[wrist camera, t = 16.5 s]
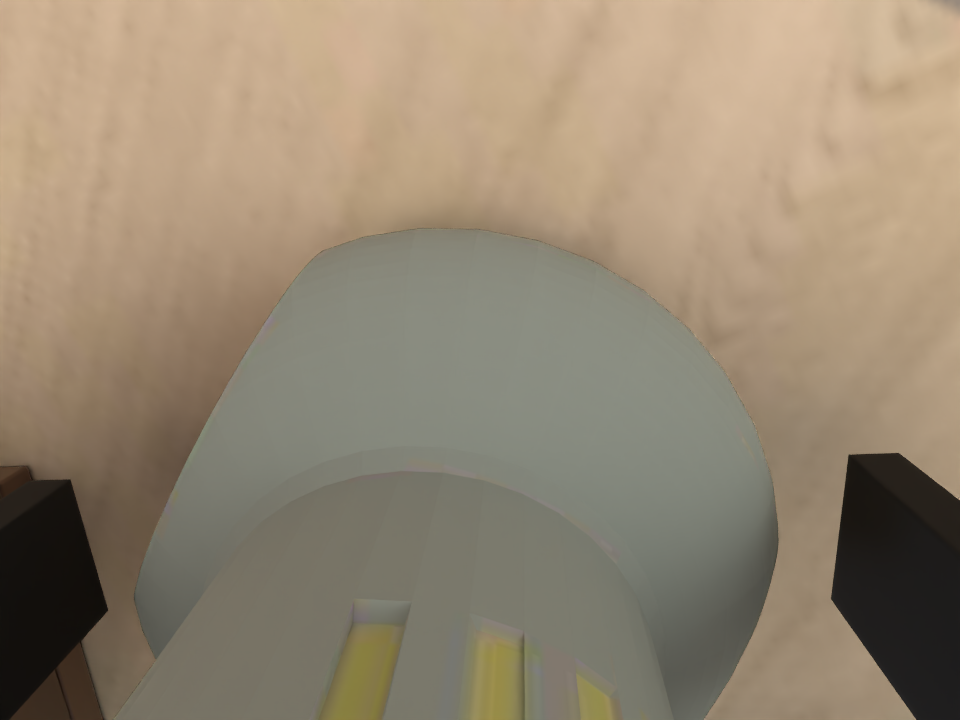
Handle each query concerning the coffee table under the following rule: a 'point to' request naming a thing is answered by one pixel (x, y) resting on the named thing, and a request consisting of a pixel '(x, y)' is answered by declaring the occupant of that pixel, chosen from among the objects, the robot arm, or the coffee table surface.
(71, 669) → the chest
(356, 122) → the coffee table surface
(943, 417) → the coffee table surface
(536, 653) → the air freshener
